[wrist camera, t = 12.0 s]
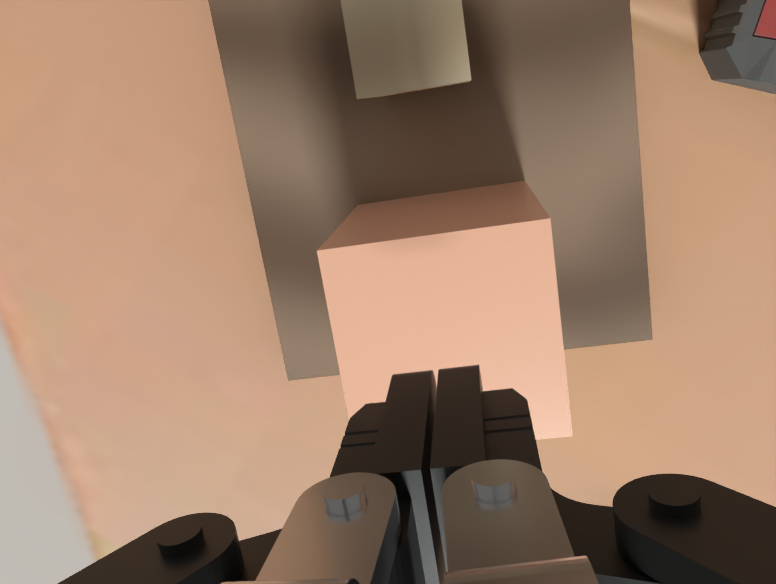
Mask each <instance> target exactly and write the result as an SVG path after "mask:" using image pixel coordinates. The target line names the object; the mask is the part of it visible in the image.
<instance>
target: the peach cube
mask: <svg viewBox="0 0 776 584" xmlns="http://www.w3.org/2000/svg"><path fill="white" fill-rule="evenodd" d="M317 255H318V260H319V265H320V271H321V276H322V281H323V287H324V292H325V297H326V302H327V308H328V313H329V318H330V323H331V329H332V334H333V339H334V344H335V350H336V355H337V360H338V366H339V371H340V376H341V381H342V387H343V392H344V397H345V402H346V408H347V413H348V418H349V419H350V418H351V417H352V416H353V415H354V414H355V413H356V412H357V411H358V410H360V409H361V408H362V407H363V406H364V405H365V404H369V403H378V402H386V398H387V394H388V390H389V386H390V381H391V377H392V375H393V374H401V373H410V372H419V371H428V370H433V372H434V375H435V380H436V386H437V381H438V370H439V369H445V368H454V367H463V366H472V365H479V367H480V373H481V380H482V387H483V391H490V390H500V389H509V388H513V389H514V390H515V391H517V392H518V393H519V394H521V395H522V396H523V397H525V398H526V399H527V401H528V406H529V411H530V416H531V420H532V425H533V430H534V435H535V439H536V440H538V439H548V438H558V437H569V436H573V434H572V424H571V414H570V405H569V395H568V385H567V375H566V365H565V356H564V346H563V336H562V326H561V316H560V307H559V297H558V287H557V277H556V267H555V258H554V248H553V238H552V228H551V218H550V217H549V215H548V214H547V212H546V211H545V210H544V208H543V207H542V205H541V204H540V202H539V201H538V199H537V198H536V196H535V195H534V193H533V192H532V190H531V189H530V187H529V186H528V184H527V183H526V181H518V182H511V183H505V184H498V185H491V186H484V187H477V188H470V189H463V190H457V191H450V192H443V193H436V194H429V195H422V196H416V197H409V198H402V199H395V200H388V201H381V202H375V203H368V204H361V205H357V206H356V208H355V209H354V210H353V211H352V212H351V213H350V214H349V215H348V216H347V218H346V219H345V220H344V221H343V222H342V223H341V224H340V225H339V226H338V228H337V229H336V230H335V231H334V232H333V233H332V234H331V235H330V236H329V238H328V239H327V240H326V241H325V242H324V243H323V244H322V245H321V246H320V248H319V249H318V250H317Z"/></svg>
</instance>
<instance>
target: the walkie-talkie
mask: <svg viewBox="0 0 776 584" xmlns="http://www.w3.org/2000/svg"><path fill="white" fill-rule="evenodd" d="M717 1H719V5H718V8H717V11H716V13H712V15H711V18H710V19H711V20H712V21H713V23H712V26H711V29H710V32H706V34H705V37H704V38H705V39H706V40H707V41H706V44H705V47H704V50H703V51H700V52H699V54H700V56H701V58H702V60H703V62H704V64H705V67H706V69H707V71H708V73H709V75H710V77H711V79H712V80H715V81H719V82H723V83H728V84H732V85H737V86H741V87H746V88H750V89H755V90H759V91H764V92H768V93H773V94H776V0H717Z"/></svg>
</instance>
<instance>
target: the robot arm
mask: <svg viewBox="0 0 776 584" xmlns="http://www.w3.org/2000/svg"><path fill="white" fill-rule="evenodd" d="M58 584H776V507H774V506H771V505H769V504H766V503H764V502H761V501H759V500H756V499H754V498H751V497H749V496H746V495H744V494H741V493H739V492H736V491H734V490H731V489H729V488H726V487H724V486H721V485H719V484H716V483H714V482H711V481H709V480H706V479H703V478H699V477H695V476H689V475H683V474H657V475H650V476H645V477H641V478H638V479H635V480H633V481H630V482H628V483H627V484H625V485H624V486H622V487H621V488H620V489H619V490H618V491H617V492H616V494H615V496H614V498H613V507H608V506H599V505H592V504H585V503H581V502H577V501H574V500H571V499H568V498H566V497H564V496H562V495H560V494H558V493H557V492H555V491H554V490H552V489H551V488H550V485H549V483H548V480H547V478H546V476H545V474H544V473H543V472H542V468H541V463H540V459H539V454H538V449H537V444H536V439H535V435H534V430H533V425H532V420H531V416H530V411H529V406H528V401H527V399H526V398H525V397H523V396H522V395H521V394H519V393H518V392H517V391H515V390H514V389H513V388H509V389H500V390H490V391H483V387H482V380H481V373H480V367H479V365H472V366H463V367H454V368H445V369H439V370H438V381H437V386H436V380H435V375H434V372H433V370H428V371H419V372H410V373H401V374H393V375H392V377H391V381H390V386H389V390H388V394H387V398H386V402H378V403H369V404H365V405H364V406H363V407H362V408H361V409H360V410H358V411H357V412H356V413H355V414H354V415H353V416H352V417H351V418H350V419H349V422H348V425H347V428H346V431H345V436H344V437H343V440H342V443H341V449H339V452H338V455H337V458H336V460H335V463H334V466H333V469H332V472H331V475H330V478H328V479H325V480H323V481H321V482H318V483H316V484H315V485H313V486H311V487H310V488H309V489H307V490H306V491H305V492H304V493H303V494H302V495H301V496H300V497H299V498H298V500H297V501H296V503H295V505H294V507H293V509H292V511H291V513H290V515H289V517H288V519H287V521H286V523H285V525H284V526H283V528H282V529H279V530H276V531H273V532H270V533H266V534H263V535H259V536H256V537H252V538H248V539H245V540H241V541H239V540H238V536H237V531H236V527H235V524H234V522H233V521H232V520H231V519H230V518H228V517H227V516H224V515H222V514H217V513H197V514H190V515H186V516H182V517H179V518H176V519H173V520H171V521H168V522H166V523H164V524H162V525H160V526H158V527H156V528H154V529H152V530H151V531H149V532H147V533H145V534H144V535H142V536H140V537H138V538H137V539H135V540H133V541H131V542H130V543H128V544H126V545H124V546H123V547H121V548H119V549H117V550H116V551H114V552H112V553H110V554H109V555H107V556H105V557H103V558H102V559H100V560H98V561H96V562H95V563H93V564H91V565H89V566H88V567H86V568H84V569H82V570H81V571H79V572H77V573H75V574H74V575H72V576H70V577H69V578H67V579H65V580H63V581H61V582H60V583H58Z"/></svg>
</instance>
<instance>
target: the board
mask: <svg viewBox="0 0 776 584" xmlns="http://www.w3.org/2000/svg"><path fill="white" fill-rule="evenodd" d="M208 1H209V6H210V11H211V15H212V20H213V25H214V30H215V34H216V39H217V44H218V49H219V53H220V58H221V63H222V68H223V72H224V77H225V82H226V87H227V91H228V96H229V101H230V106H231V110H232V115H233V120H234V125H235V129H236V134H237V139H238V144H239V148H240V153H241V158H242V163H243V167H244V172H245V177H246V182H247V187H248V191H249V196H250V201H251V206H252V210H253V215H254V220H255V225H256V229H257V234H258V239H259V244H260V248H261V253H262V258H263V263H264V267H265V272H266V277H267V282H268V286H269V291H270V296H271V301H272V305H273V310H274V315H275V320H276V324H277V329H278V334H279V339H280V344H281V348H282V353H283V358H284V363H285V367H286V372H287V377H288V381H289V380H298V379H307V378H316V377H325V376H333V375H340V371H339V366H338V360H337V355H336V350H335V344H334V339H333V334H332V329H331V323H330V318H329V313H328V308H327V302H326V297H325V292H324V287H323V281H322V276H321V271H320V265H319V260H318V255H317V250H318V249H319V248H320V246H321V245H322V244H323V243H324V242H325V241H326V240H327V239H328V238H329V236H330V235H331V234H332V233H333V232H334V231H335V230H336V229H337V228H338V226H339V225H340V224H341V223H342V222H343V221H344V220H345V219H346V218H347V216H348V215H349V214H350V213H351V212H352V211H353V210H354V209H355V208H356V206H357V205H361V204H368V203H375V202H381V201H388V200H395V199H402V198H409V197H416V196H422V195H429V194H436V193H443V192H450V191H457V190H463V189H470V188H477V187H484V186H491V185H498V184H505V183H511V182H518V181H526V183H527V184H528V186H529V187H530V189H531V190H532V192H533V193H534V195H535V196H536V198H537V199H538V201H539V202H540V204H541V205H542V207H543V208H544V210H545V211H546V212H547V214H548V215H549V217H550V218H551V228H552V238H553V248H554V258H555V267H556V277H557V287H558V297H559V307H560V316H561V326H562V336H563V346H564V349H573V348H582V347H591V346H600V345H608V344H617V343H626V342H635V341H644V340H652V326H651V311H650V296H649V281H648V266H647V252H646V237H645V222H644V207H643V192H642V178H641V163H640V148H639V133H638V118H637V104H636V89H635V74H634V59H633V44H632V30H631V15H630V0H208Z"/></svg>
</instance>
